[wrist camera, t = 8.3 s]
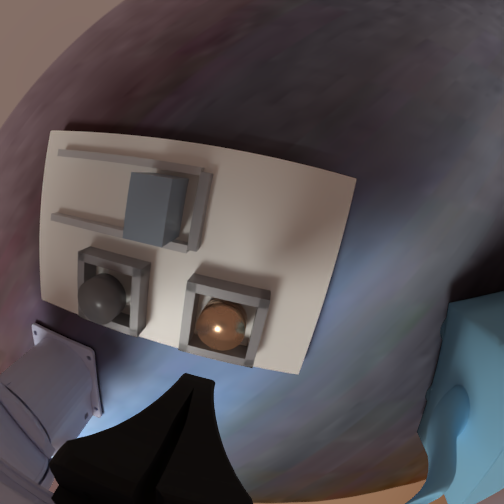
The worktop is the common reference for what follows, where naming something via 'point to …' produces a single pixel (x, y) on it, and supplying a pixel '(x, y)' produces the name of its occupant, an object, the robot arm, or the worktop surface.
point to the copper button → (222, 324)
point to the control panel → (196, 241)
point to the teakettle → (466, 405)
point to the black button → (102, 298)
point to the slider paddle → (154, 208)
